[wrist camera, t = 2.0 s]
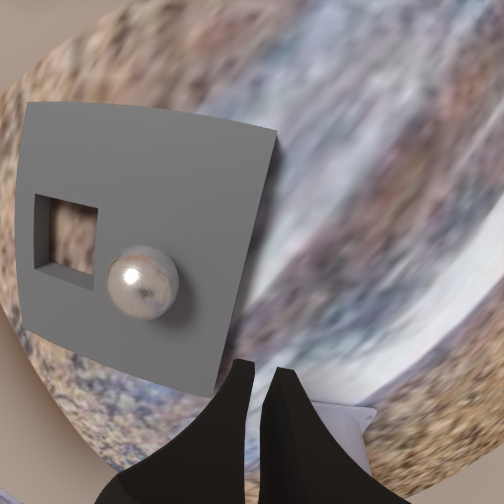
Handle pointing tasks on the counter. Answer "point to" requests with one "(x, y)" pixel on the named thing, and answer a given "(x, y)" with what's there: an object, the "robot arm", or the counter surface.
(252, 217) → the hole board
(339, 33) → the counter surface
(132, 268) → the steel ball
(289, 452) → the robot arm
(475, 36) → the counter surface
